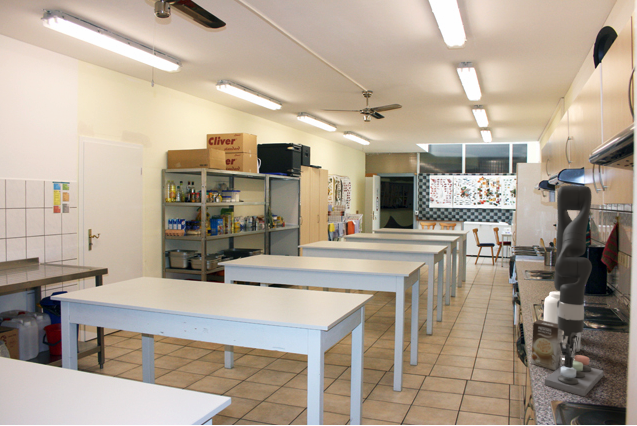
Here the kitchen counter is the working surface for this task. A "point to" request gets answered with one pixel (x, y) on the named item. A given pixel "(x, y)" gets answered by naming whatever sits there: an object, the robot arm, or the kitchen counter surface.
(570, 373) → the white button
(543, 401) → the kitchen counter surface
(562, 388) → the panel
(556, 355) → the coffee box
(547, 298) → the white bottle
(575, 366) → the sage button
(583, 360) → the brick button
